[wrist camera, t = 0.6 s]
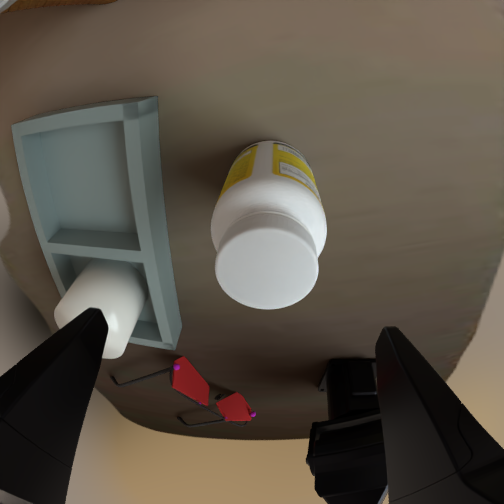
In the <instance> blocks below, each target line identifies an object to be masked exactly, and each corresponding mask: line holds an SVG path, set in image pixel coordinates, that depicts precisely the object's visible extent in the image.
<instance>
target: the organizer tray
mask: <svg viewBox="0 0 504 504" xmlns="http://www.w3.org/2000/svg"><path fill="white" fill-rule="evenodd" d="M11 127H12V134H13V140H14V146H15V152H16V157H17V162H18V167H19V172H20V176H21V180H22V185H23V189H24V193H25V196H26V200H27V204H28V207H29V211H30V214H31V218H32V221H33V224H34V227H35V230H36V233H37V236H38V239H39V242H40V245H41V248H42V251H43V253H44V256H45V259H46V261H47V264H48V267H49V269H50V272H51V274H52V277H53V279H54V281H55V284H56V286H57V289H58V291H59V293H60V295H61V298H63V297H64V295H65V294H66V292H67V291H68V289H69V288H70V287H71V285H72V284H73V282H74V281H75V280H76V278H77V277H78V276H79V274H80V273H81V272H82V270H83V269H84V267H85V266H86V265H87V263H88V262H89V261H90V260H91V259H92V258H102V259H111V260H121V261H126V262H128V263H129V264H131V265H132V266H133V267H134V268H136V269H137V270H138V272H139V273H140V274H141V275H142V277H143V278H144V280H145V282H146V284H147V287H148V298H147V301H146V303H145V305H144V307H143V309H142V312H141V314H140V316H139V318H138V320H137V323H136V325H135V327H134V329H133V331H132V334H131V336H130V338H129V341H128V342H130V343H135V344H140V345H145V346H151V347H157V348H163V349H169V350H175V348H176V345H177V342H178V338H179V335H180V332H181V329H182V323H181V317H180V312H179V306H178V300H177V294H176V288H175V281H174V275H173V268H172V261H171V254H170V246H169V239H168V230H167V222H166V213H165V203H164V193H163V182H162V170H161V157H160V142H159V123H158V96H151V97H140V98H130V99H121V100H113V101H106V102H99V103H93V104H87V105H81V106H75V107H70V108H65V109H60V110H56V111H51V112H47V113H42V114H38V115H35V116H32V117H30V118H27V119H25V120H22V121H20V122H18V123H15V124H13V125H11Z"/></svg>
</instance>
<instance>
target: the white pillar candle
mask: <svg viewBox="0 0 504 504" xmlns="http://www.w3.org/2000/svg"><path fill="white" fill-rule="evenodd" d="M147 298H148V287H147V284H146V282H145V280H144V278H143V277H142V275H141V274H140V273H139V272H138V270H137V269H136V268H134V267H133V266H132V265H131V264H129V263H128V262H126V261H121V260H111V259H102V258H92V259H91V260H90V261H89V262H88V263H87V265H86V266H85V267H84V269H83V270H82V272H81V273H80V274H79V276H78V277H77V278H76V280H75V281H74V282H73V284H72V285H71V287H70V288H69V289H68V291H67V292H66V294H65V295H64V297H63V298H62V300H61V301H60V302H59V304H58V305H57V307H56V309H55V312H54V316H55V320H56V323H57V325H58V327H59V328H60V329H61V328H62V327H64V326H65V325H66V324H67V323H69V322H70V321H71V320H73V319H74V318H75V317H77V316H78V315H79V314H81V313H82V312H83V311H85V310H86V309H88V308H89V307H94V308H99V309H101V310H102V312H103V315H104V317H105V319H106V321H107V323H108V327H109V330H108V335H107V339H106V343H105V347H104V352H103V356H102V358H107V359H113V358H118V357H120V356H121V355H122V354H123V352H124V350H125V348H126V345H127V343H128V341H129V338H130V336H131V334H132V331H133V329H134V327H135V325H136V323H137V320H138V318H139V316H140V314H141V312H142V309H143V307H144V305H145V303H146V301H147Z"/></svg>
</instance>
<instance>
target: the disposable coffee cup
mask: <svg viewBox="0 0 504 504" xmlns="http://www.w3.org/2000/svg"><path fill="white" fill-rule="evenodd" d="M115 1H117V0H0V14H2V13H6V12H8V11H9V12H13V11H16V10H18V11H19V10H24V9H31V8H39V7H47V6H59V5H74V4H76V5H77V4H107V3H111V2H115Z"/></svg>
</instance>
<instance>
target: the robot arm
mask: <svg viewBox="0 0 504 504" xmlns="http://www.w3.org/2000/svg"><path fill="white" fill-rule="evenodd" d="M108 330H109V327H108V323H107V321H106V319H105V317H104V315H103V312H102V310H101V309H99V308H94V307H89V308H88V309H86V310H85V311H83V312H82V313H81V314H79V315H78V316H77V317H75V318H74V319H73V320H71V321H70V322H69V323H67V324H66V325H65V326H64V327H62V328H61V329H60V330H58V331H57V332H56V333H54V334H53V335H52V336H51V337H49V338H48V339H47V340H45V341H44V342H43V343H42V344H40V345H39V346H38V347H37V348H35V349H34V350H33V351H32V352H30V353H29V354H28V355H27V356H25V357H24V358H23V359H22V360H20V361H19V362H18V363H17V365H14V366H13V367H12V368H11V369H9V370H8V371H7V372H6V373H4V374H3V375H2V376H1V377H0V504H65V501H66V495H67V490H68V485H69V480H70V475H71V470H72V465H73V461H74V456H75V452H76V448H77V444H78V440H79V436H80V432H81V428H82V425H83V421H84V418H85V414H86V410H87V407H88V404H89V400H90V397H91V394H92V391H93V388H94V385H95V381H96V378H97V375H98V372H99V369H100V365H101V360H102V356H103V352H104V347H105V343H106V339H107V335H108ZM375 354H376V360H331V361H329V363H328V365H327V368H326V370H325V372H324V375H323V377H322V379H321V382H320V384H319V386H318V391H319V392H327V400H328V416H329V420H328V421H322V422H313V423H312V429H311V431H310V439H309V447H308V454H307V458H306V463H307V464H308V465H309V466H310V470H311V473H312V475H313V476H315V491H316V492H317V494H318V495H319V496H320V497H323V498H324V500H325V501H326V502H327V503H328V504H382V503H383V501H384V499H385V497H386V495H387V493H388V495H389V504H504V449H503V448H502V447H501V446H500V445H499V444H498V443H497V442H496V441H495V440H494V439H493V437H492V436H491V435H489V433H488V432H487V431H486V430H485V429H484V428H483V427H482V426H481V425H480V424H479V422H478V421H477V420H476V419H475V418H474V417H473V416H472V414H471V413H470V412H469V411H468V409H467V408H466V407H465V406H464V404H461V401H460V400H459V398H458V397H457V396H456V395H455V394H454V392H453V391H452V390H451V389H450V387H449V386H448V385H447V384H446V383H445V381H444V380H443V379H442V378H441V377H440V376H439V374H438V373H437V372H436V371H435V370H434V368H433V367H432V366H431V365H430V364H429V363H428V361H427V360H426V359H425V358H424V357H423V356H422V355H421V353H420V352H419V351H418V350H417V349H416V348H415V347H414V346H413V344H412V343H411V342H410V341H409V340H408V339H407V338H406V337H405V335H404V334H403V333H402V332H401V331H400V330H399V329H398V328H397V327H395V326H390V327H384V328H383V329H382V331H381V334H380V336H379V338H378V340H377V342H376V346H375ZM376 377H377V385H376V380H375V378H376ZM377 389H378V390H377Z"/></svg>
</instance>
